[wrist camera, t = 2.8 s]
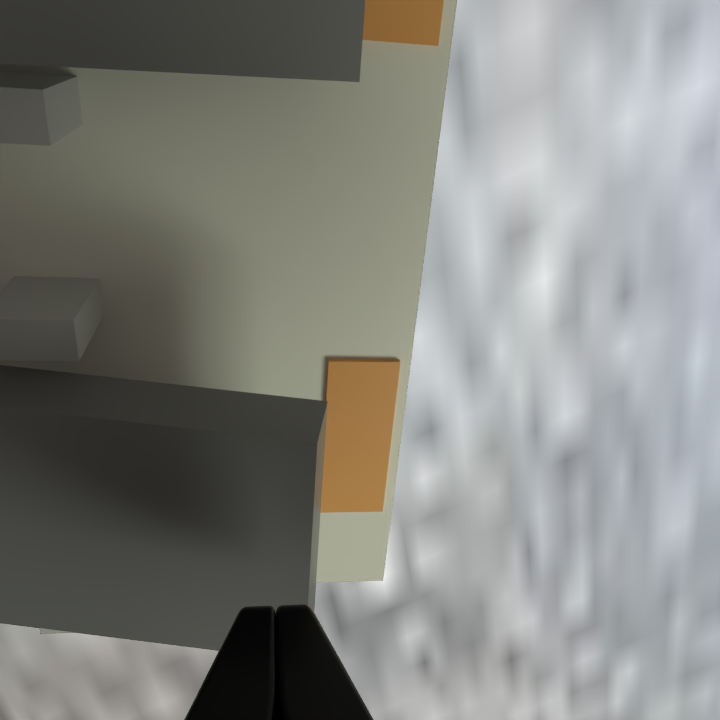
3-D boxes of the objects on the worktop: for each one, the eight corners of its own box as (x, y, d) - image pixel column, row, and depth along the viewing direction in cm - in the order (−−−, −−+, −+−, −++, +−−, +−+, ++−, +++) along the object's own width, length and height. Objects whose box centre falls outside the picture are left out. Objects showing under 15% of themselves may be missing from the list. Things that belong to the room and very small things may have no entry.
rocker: (-156, 551, 11) (-205, 597, 10) (-235, 338, 9) (-303, 372, 9) (314, 609, 11) (304, 661, 10) (327, 401, 9) (316, 442, 8)
